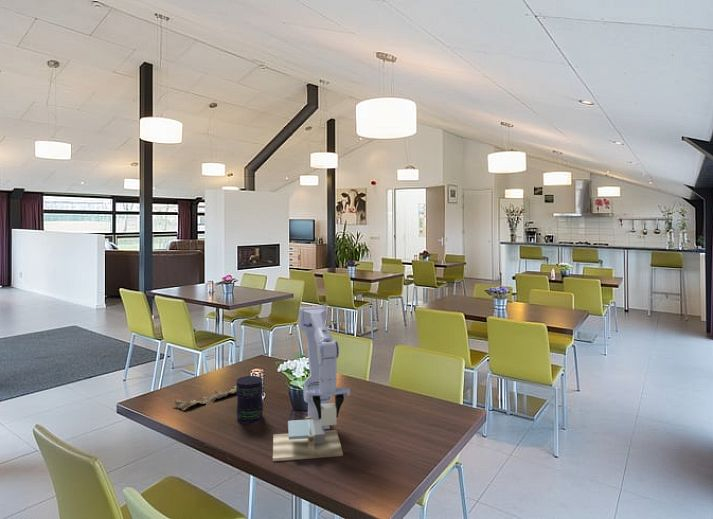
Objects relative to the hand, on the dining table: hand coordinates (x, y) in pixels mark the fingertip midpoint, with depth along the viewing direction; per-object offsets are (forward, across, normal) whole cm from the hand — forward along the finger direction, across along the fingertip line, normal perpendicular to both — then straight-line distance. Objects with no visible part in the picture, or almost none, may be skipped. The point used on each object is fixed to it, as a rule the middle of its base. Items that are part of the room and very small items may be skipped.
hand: (328, 417), depth 155 cm
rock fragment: (+10, -42, +52) cm, 68 cm away
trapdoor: (+6, -7, 0) cm, 9 cm away
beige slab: (+9, -7, 0) cm, 12 cm away
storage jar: (+10, -27, +27) cm, 39 cm away
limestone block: (+2, 0, 0) cm, 2 cm away
